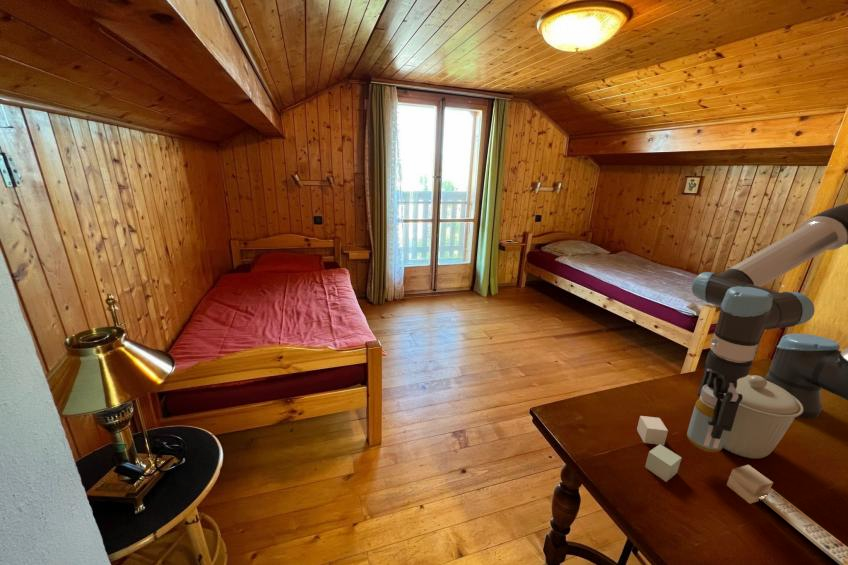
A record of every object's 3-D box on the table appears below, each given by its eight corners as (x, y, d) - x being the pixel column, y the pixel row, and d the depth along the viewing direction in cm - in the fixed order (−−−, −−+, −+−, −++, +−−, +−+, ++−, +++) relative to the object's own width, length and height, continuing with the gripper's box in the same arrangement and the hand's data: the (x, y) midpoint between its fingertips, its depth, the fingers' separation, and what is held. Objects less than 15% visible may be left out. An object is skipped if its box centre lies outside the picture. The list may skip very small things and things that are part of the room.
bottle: (728, 455, 83) (745, 403, 78) (694, 451, 84) (710, 399, 79) (711, 434, 89) (727, 384, 84) (681, 430, 91) (694, 381, 86)
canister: (707, 458, 90) (730, 390, 84) (685, 414, 106) (703, 353, 100) (797, 479, 84) (830, 407, 78) (759, 428, 101) (783, 365, 94)
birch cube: (742, 480, 84) (748, 464, 83) (765, 498, 80) (773, 482, 78) (726, 485, 83) (732, 469, 81) (749, 504, 78) (756, 487, 77)
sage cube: (655, 459, 90) (660, 444, 89) (676, 473, 86) (681, 457, 85) (644, 467, 88) (649, 451, 86) (666, 482, 84) (670, 466, 82)
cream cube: (655, 432, 99) (659, 417, 98) (663, 445, 95) (668, 430, 93) (636, 430, 100) (640, 415, 99) (643, 443, 96) (647, 428, 94)
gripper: (696, 333, 88) (676, 409, 96) (727, 374, 72) (700, 461, 79) (732, 338, 86) (709, 415, 93) (773, 381, 69) (741, 470, 77)
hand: (705, 436), depth 86 cm, fingers closed on bottle, 6 cm apart
